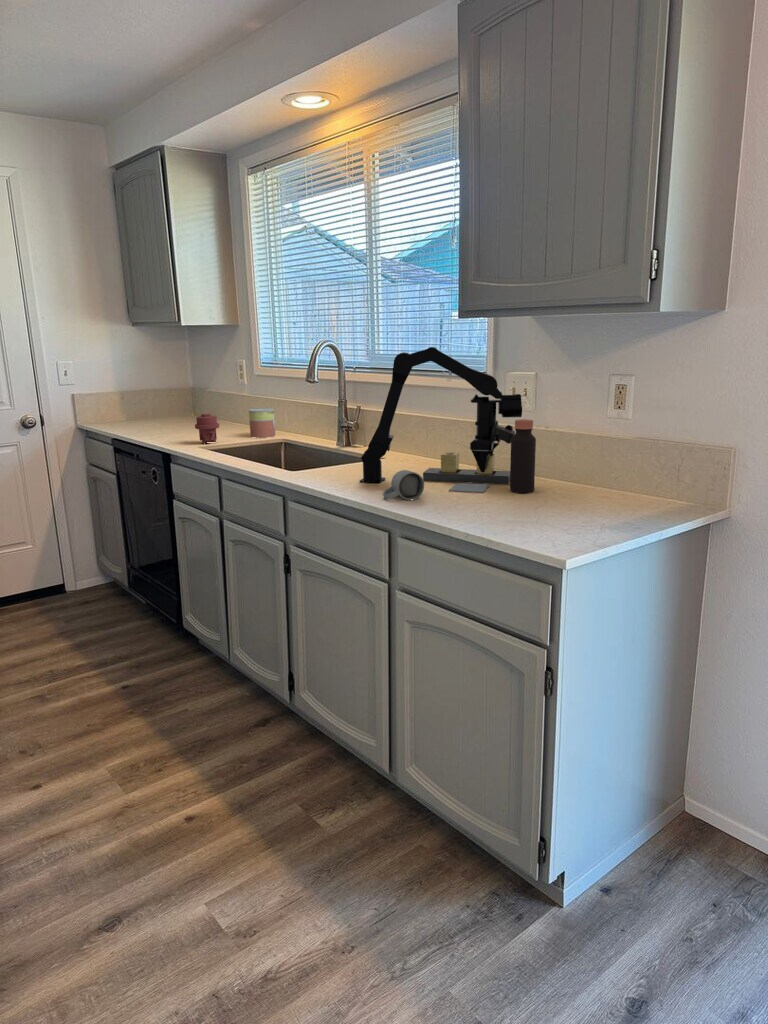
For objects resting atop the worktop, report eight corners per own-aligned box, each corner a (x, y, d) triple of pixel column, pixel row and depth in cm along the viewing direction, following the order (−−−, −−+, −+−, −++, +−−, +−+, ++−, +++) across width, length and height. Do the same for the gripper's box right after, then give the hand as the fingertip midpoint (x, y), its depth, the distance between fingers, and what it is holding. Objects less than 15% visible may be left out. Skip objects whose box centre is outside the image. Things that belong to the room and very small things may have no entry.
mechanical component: (198, 445, 295) (194, 442, 304) (222, 443, 299) (217, 440, 308) (196, 416, 292) (191, 413, 301) (220, 414, 296) (215, 412, 305)
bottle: (531, 494, 196) (533, 422, 191) (507, 492, 199) (508, 421, 194) (536, 489, 202) (539, 419, 197) (513, 487, 205) (515, 418, 200)
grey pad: (483, 493, 199) (483, 491, 199) (448, 491, 202) (448, 490, 202) (489, 485, 208) (489, 484, 208) (456, 484, 211) (456, 483, 211)
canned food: (277, 437, 314) (275, 410, 311) (251, 438, 312) (249, 411, 309) (274, 434, 325) (272, 407, 322) (249, 435, 322) (247, 409, 319)
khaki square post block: (455, 481, 216) (455, 454, 214) (440, 480, 217) (440, 454, 215) (458, 478, 220) (458, 452, 218) (444, 477, 221) (444, 451, 219)
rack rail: (508, 484, 209) (508, 476, 209) (423, 480, 217) (423, 472, 216) (512, 479, 217) (512, 471, 216) (429, 475, 224) (429, 467, 224)
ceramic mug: (414, 492, 201) (413, 466, 199) (425, 499, 193) (424, 471, 191) (378, 496, 198) (377, 469, 196) (388, 503, 190) (387, 475, 188)
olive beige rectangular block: (491, 482, 212) (492, 455, 210) (476, 482, 214) (476, 455, 212) (494, 479, 217) (494, 453, 215) (479, 479, 218) (479, 452, 216)
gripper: (509, 422, 199) (507, 476, 203) (517, 414, 217) (516, 464, 220) (470, 421, 203) (469, 474, 207) (481, 414, 220) (480, 463, 224)
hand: (485, 469), depth 214 cm, fingers open, 9 cm apart
